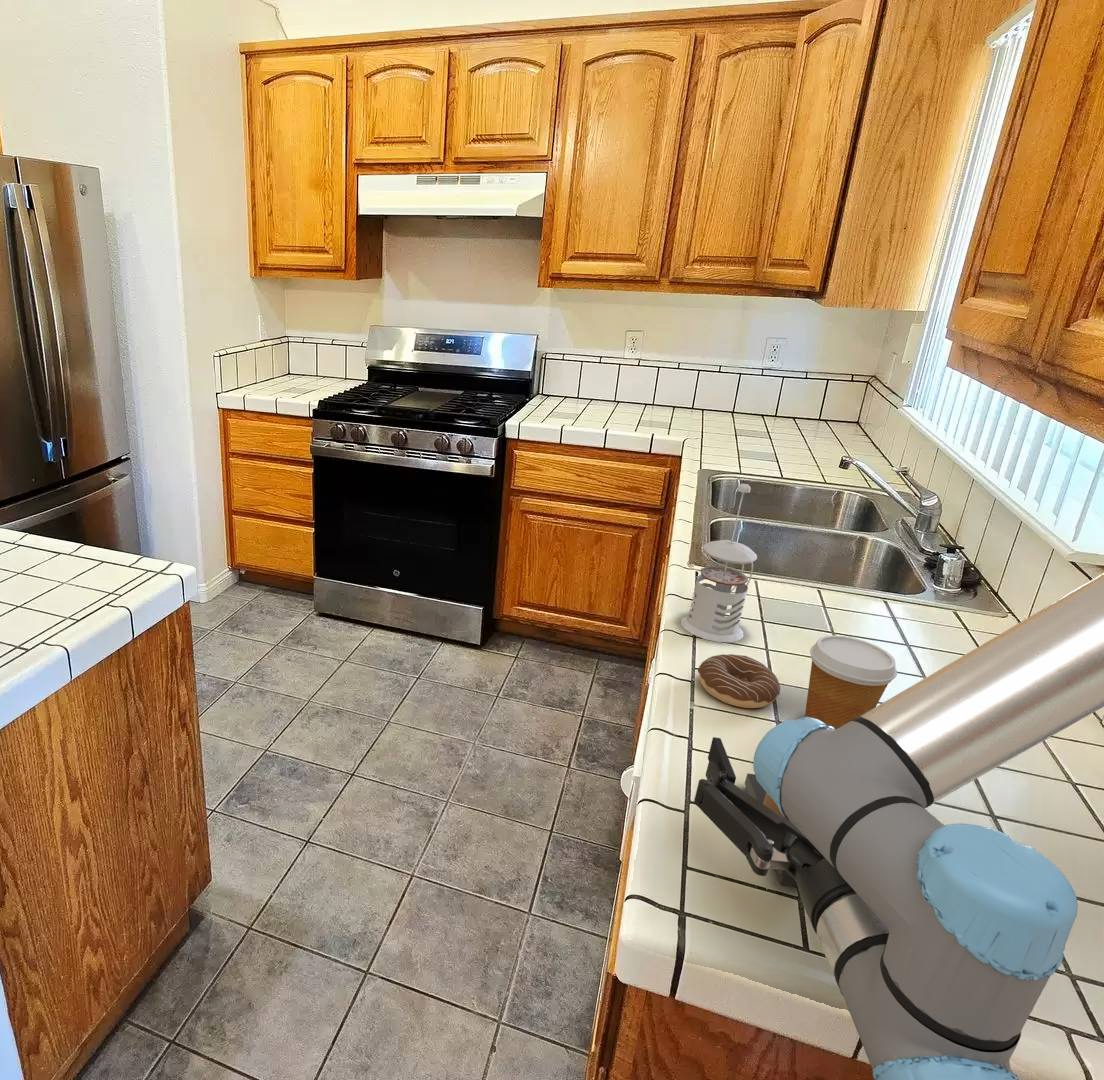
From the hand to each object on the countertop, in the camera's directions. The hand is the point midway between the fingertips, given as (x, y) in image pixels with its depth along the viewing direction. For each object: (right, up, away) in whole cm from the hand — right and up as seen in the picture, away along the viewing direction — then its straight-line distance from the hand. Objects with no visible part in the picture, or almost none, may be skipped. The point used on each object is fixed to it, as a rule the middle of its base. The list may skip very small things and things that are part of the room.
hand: (781, 757), depth 79 cm
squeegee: (0, -9, +1) cm, 9 cm away
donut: (+8, +1, +28) cm, 29 cm away
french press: (+13, +8, +47) cm, 49 cm away
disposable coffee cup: (+17, -3, +20) cm, 26 cm away
